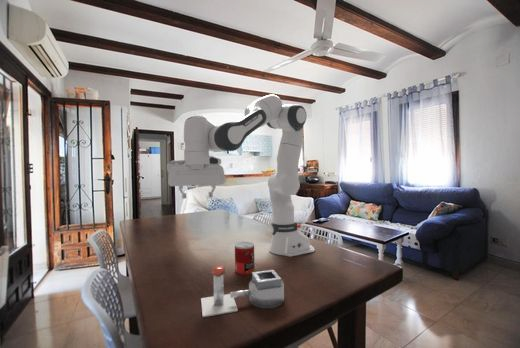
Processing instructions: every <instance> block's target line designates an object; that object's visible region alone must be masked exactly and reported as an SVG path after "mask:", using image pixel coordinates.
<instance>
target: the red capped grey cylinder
mask: <svg viewBox="0 0 520 348" xmlns="http://www.w3.org/2000/svg"><path fill="white" fill-rule="evenodd" d="M225 268H226V267H225V266H224V265H214V266H212V267H211V274H212V275H213V296H214V305H215V306H222V305H223V304H224V295H225V292H224V288H225V287H224V286H225V285H224V284H225V283H224V274H225V272H226V269H225Z"/></svg>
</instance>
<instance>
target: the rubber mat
mask: <svg viewBox="0 0 520 348" xmlns="http://www.w3.org/2000/svg"><path fill="white" fill-rule="evenodd" d="M200 301H201V303H200V304H201V312H202V313H201V314H202V318H207V317H211V316H213V317H214V316H217V315H218V316H219V315H224V314H229V313H230V314H231V313H236V312H238V311H239V310H238V306H237V304H236V300H235V297H234V298H230V293H227V294H224V304H223V305H222V306H215V305H214V295H213V296H207V297H201V298H200Z"/></svg>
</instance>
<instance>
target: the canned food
mask: <svg viewBox="0 0 520 348" xmlns="http://www.w3.org/2000/svg"><path fill="white" fill-rule="evenodd" d="M234 266H235V267H234V268H235V269H234V270H235V273H236V274H238V275H240V276H249V275H252V272H255V244H254V243H253V242H249V241H240V242H236V243H235V244H234Z"/></svg>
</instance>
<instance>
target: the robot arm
mask: <svg viewBox="0 0 520 348" xmlns="http://www.w3.org/2000/svg"><path fill="white" fill-rule="evenodd" d="M306 121H307V111H306V109H305V107H304V106H302V105H301V104H296V103H295V104H283V101H282V100H281V98H280V97H279V96H277V94H276V95H275V94H268V95H265V96H262V97H260V98H258V99H255V100H254V101H252V102H251V103H250V104H249V105H248V106H247V107H245V109H244V117H242V118H241V119H240V120H238V121H236V122H235V121H229V122H226V123H223V124H220V125H217V124H214V123H213V122H212V121H210V120H209V119H207V117H206V116H205V115H194V116H190V117H188V118H186V119H185V121H184V124H183V125H184V126H183V143H184V150H183V160H182V159H181V160H179V159H178V160H175V159H174V160H171V161H168V162H167V164H166V171H167V173H168V179H167V183H168V186H170V187H178V190H179V192H180V193H181V198H182V199H187V193H185V192H184V191H183V188H184V186H185V187H187V186H191V187H192V186H210V185H211V186H210V187H211V188H212V189H211V190H210V191H208V193H207V194H208V198H214V194H213V193H214V191H215V190H216V186H217V185H224V184H225V183H226V177H225V170H224V169H225V168H223V166H222V165H221V164H222V159H221V158H219V157H214V156H212V155H210V154H209V153H210V152H213V153H220V152H234V151H237V150H238V149H240V147H241V146H242V145H243V143H244V142H245V140H246V138H247V137H248V136H249V135H251V134H252V133H254V132H255V131H256V130H258V129H259V128H262V127H264V126H265V125H267V126H268V127H269V128H271V129H276V130H277V129H279V130H282V135H281V138H280V141H279V142H280V143H279V146H278V150H277V155H276V164H277V165H276V173H273V174H271V176H269V178H268V180H267V186H268V190H269V197H270V203H271V225H270V231H271V241H270V246H269V249H268V251H269V252H270V253H272V254H273V255H279V256H285V257H290V258H292V257H295V256H300V255H305V254H309V253H314V252H315V247H314V246H313V245H311V243H310V240H309V237H308V236H307V235H305V234H304V233H303V232H302V231H301V230H299V229H301V227H302V224H300V223H296V221H295V206H294V204H293V200H292V196H293V195H295V194H297V193H298V192H299V190H300V187H301V185H300V184H301V182H300V180H299V162H300V158H301V157H300V156H301V151H302V147H303V146H302V145H303V139H304V130H303V127H304V125H305V123H306Z"/></svg>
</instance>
